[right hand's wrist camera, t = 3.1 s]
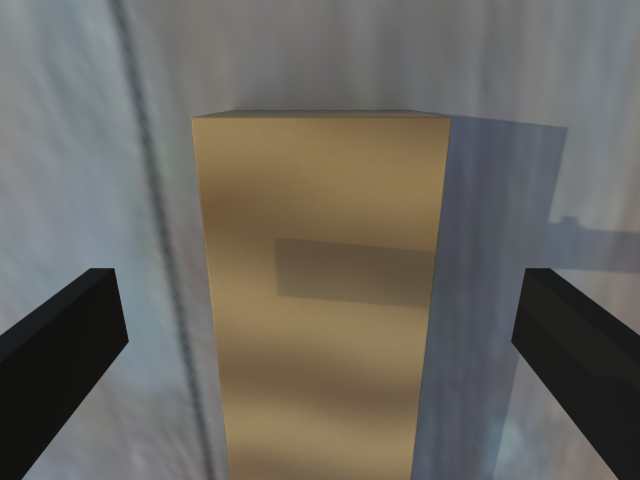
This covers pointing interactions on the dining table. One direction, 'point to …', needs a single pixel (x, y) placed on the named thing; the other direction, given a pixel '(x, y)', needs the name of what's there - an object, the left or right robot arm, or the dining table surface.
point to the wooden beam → (321, 284)
